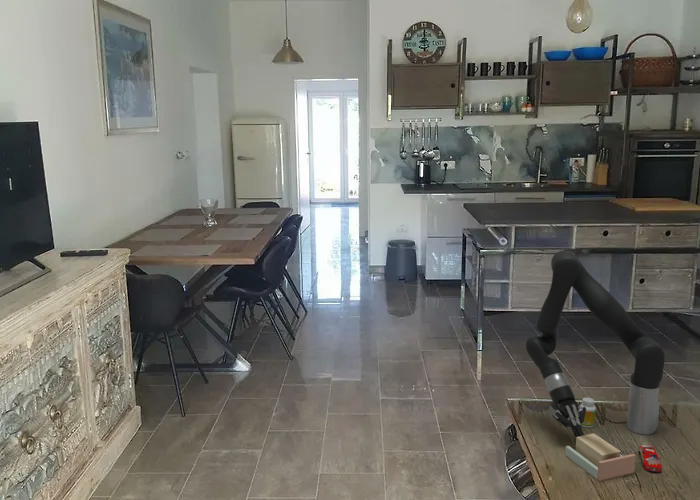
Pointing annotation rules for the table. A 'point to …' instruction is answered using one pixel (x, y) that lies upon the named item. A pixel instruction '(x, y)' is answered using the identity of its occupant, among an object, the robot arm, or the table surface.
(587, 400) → the supplement bottle
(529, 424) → the table surface
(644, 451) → the race car
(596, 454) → the oak block
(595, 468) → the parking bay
